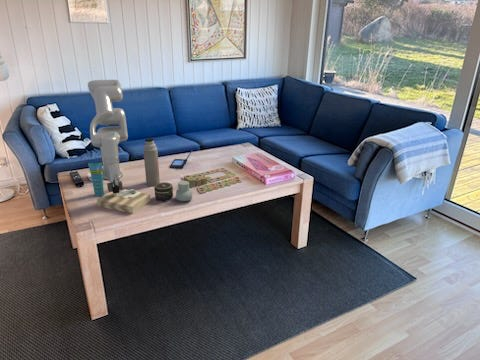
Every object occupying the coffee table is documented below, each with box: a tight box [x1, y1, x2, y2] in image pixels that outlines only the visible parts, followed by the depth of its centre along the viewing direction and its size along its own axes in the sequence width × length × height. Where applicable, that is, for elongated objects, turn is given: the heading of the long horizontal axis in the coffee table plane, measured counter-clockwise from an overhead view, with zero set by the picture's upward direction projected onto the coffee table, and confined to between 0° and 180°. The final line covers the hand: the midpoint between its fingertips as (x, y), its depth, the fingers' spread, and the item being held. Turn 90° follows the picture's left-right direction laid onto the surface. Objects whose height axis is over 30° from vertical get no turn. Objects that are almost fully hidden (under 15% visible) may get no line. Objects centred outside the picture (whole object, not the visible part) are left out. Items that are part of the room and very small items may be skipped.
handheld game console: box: [169, 149, 193, 170], centre depth 253 cm, size 16×13×9 cm
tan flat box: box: [96, 188, 151, 214], centre depth 199 cm, size 22×17×4 cm
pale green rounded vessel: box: [175, 180, 193, 202], centre depth 203 cm, size 11×8×10 cm
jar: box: [153, 182, 174, 202], centre depth 205 cm, size 10×10×8 cm
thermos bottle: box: [143, 137, 161, 187], centre depth 219 cm, size 8×8×28 cm
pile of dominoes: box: [180, 167, 243, 195], centre depth 230 cm, size 35×27×6 cm
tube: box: [87, 162, 105, 197], centre depth 205 cm, size 7×5×19 cm, turn 103°
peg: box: [106, 180, 135, 196], centre depth 199 cm, size 13×2×7 cm, turn 119°
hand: (115, 191), depth 198 cm, fingers closed on peg, 2 cm apart
